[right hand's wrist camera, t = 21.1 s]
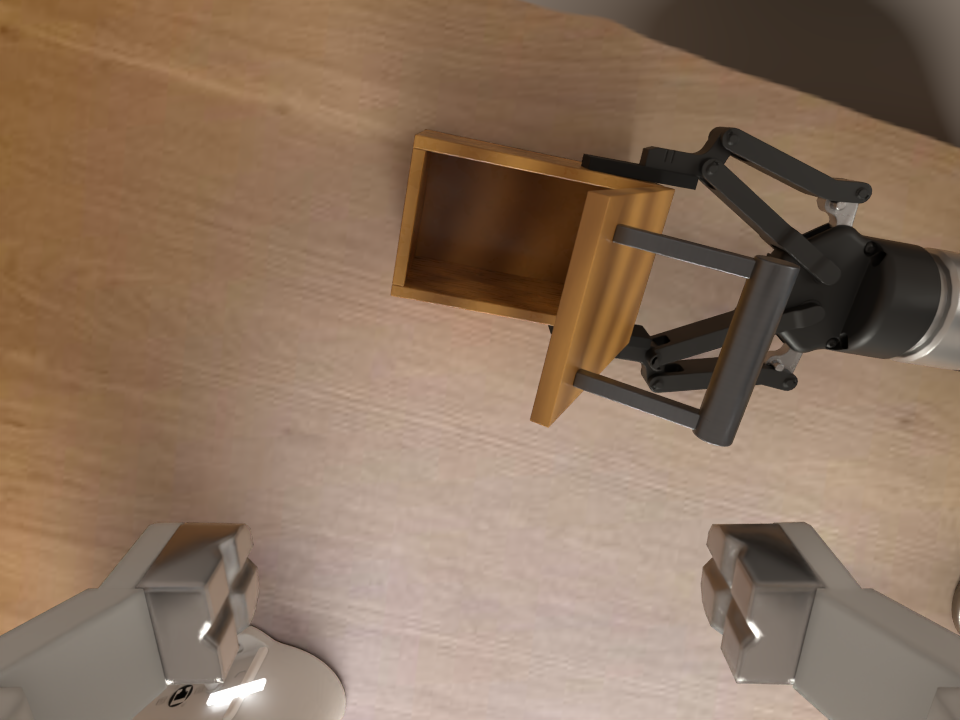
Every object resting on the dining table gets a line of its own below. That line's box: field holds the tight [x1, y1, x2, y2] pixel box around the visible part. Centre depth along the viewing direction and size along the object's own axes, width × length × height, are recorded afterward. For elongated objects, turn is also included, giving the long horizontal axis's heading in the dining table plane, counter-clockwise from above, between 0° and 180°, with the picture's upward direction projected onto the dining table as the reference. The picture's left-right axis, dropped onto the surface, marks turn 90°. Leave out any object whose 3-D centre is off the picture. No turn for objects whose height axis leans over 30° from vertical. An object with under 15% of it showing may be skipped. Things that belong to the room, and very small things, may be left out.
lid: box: [530, 186, 800, 447], centre depth 30 cm, size 15×9×8 cm
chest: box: [391, 129, 664, 326], centre depth 42 cm, size 15×10×10 cm, turn 79°
